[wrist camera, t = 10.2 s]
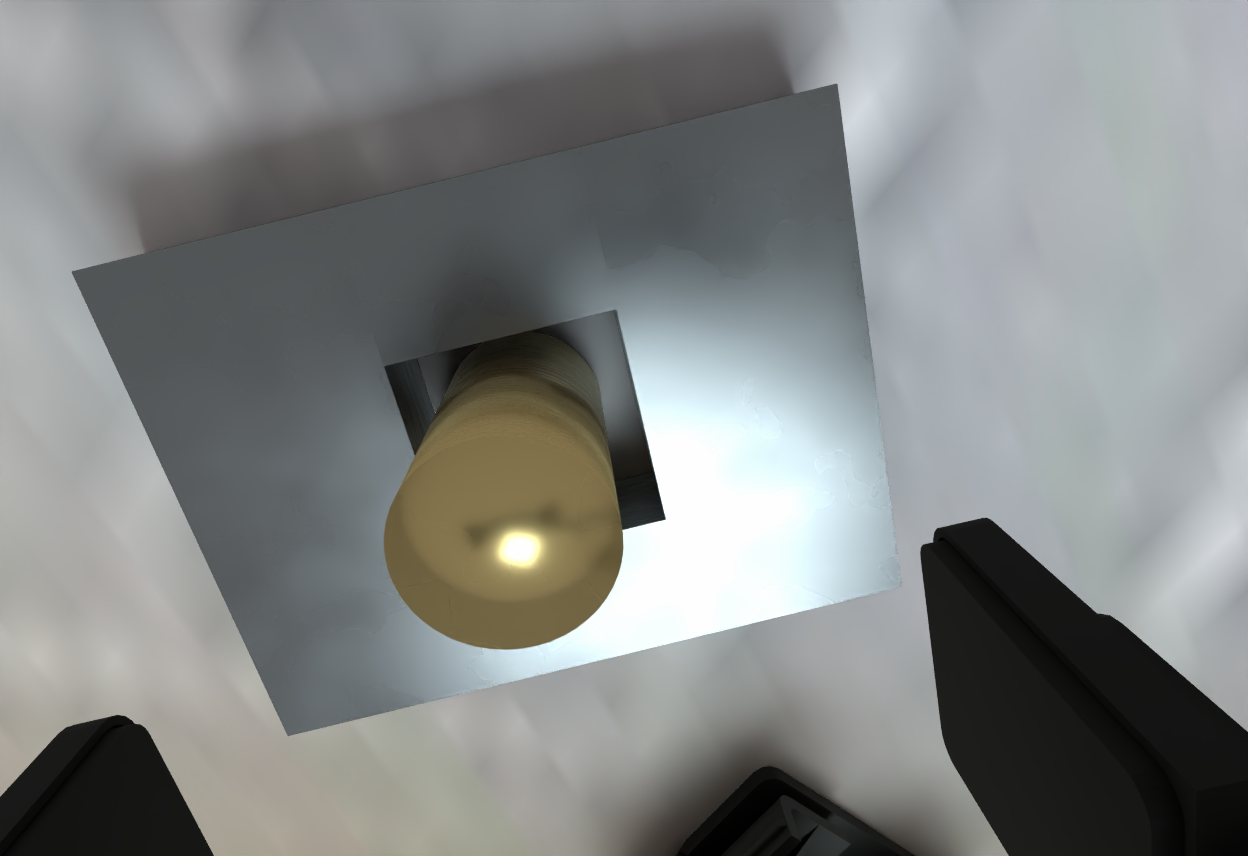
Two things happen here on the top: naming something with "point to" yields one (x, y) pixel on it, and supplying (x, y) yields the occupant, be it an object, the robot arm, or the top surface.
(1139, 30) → the top surface
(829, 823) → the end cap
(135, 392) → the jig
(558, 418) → the beige cylinder
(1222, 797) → the robot arm
